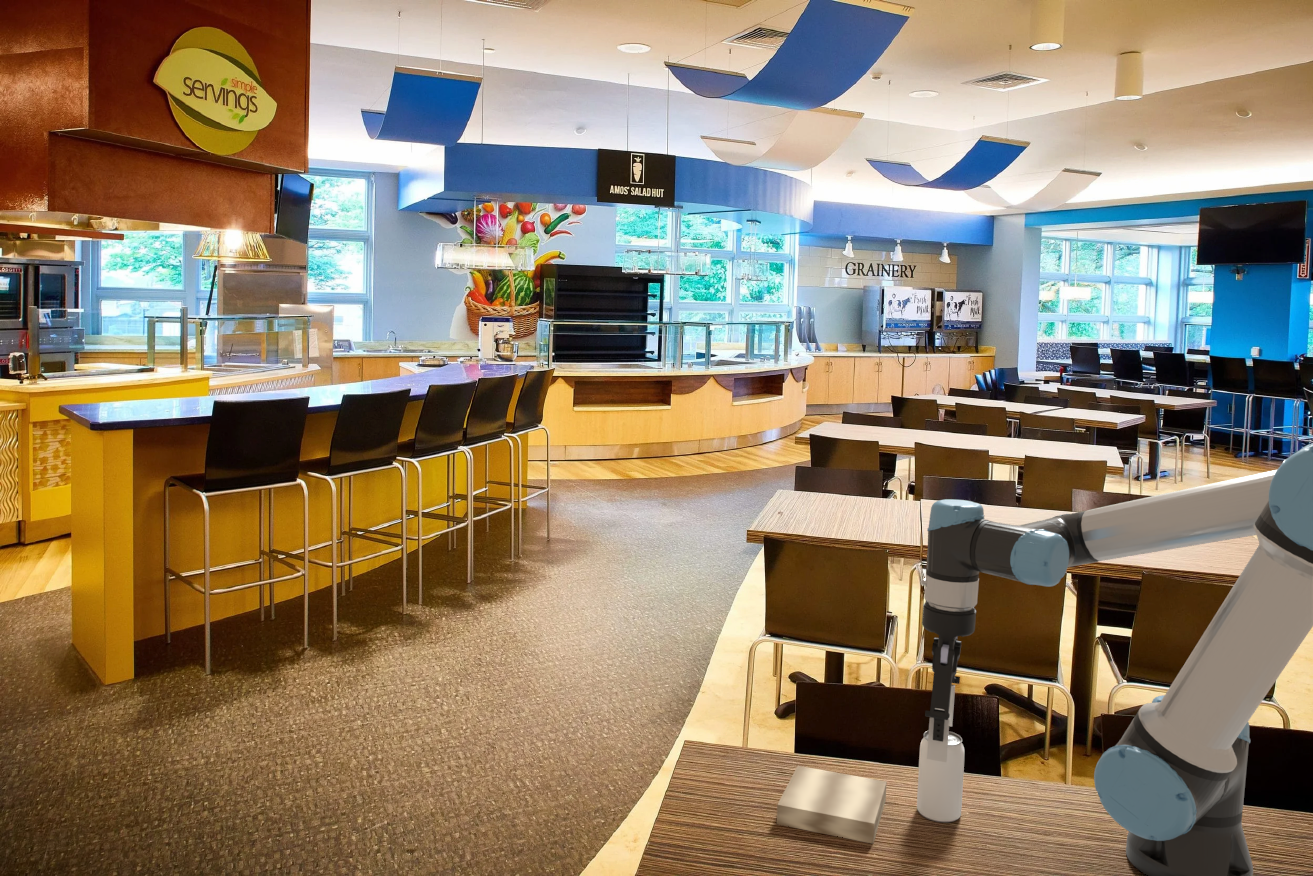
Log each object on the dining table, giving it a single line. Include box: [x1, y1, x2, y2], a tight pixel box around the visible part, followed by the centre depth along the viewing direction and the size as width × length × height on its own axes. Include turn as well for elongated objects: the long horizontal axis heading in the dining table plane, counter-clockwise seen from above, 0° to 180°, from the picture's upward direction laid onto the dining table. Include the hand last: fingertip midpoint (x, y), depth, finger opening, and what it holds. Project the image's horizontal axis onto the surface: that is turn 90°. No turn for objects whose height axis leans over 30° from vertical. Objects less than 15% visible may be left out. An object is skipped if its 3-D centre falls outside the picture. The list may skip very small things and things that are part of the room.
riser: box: [776, 765, 887, 844], centre depth 142 cm, size 14×14×3 cm
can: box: [916, 730, 965, 824], centre depth 142 cm, size 6×6×12 cm
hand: (940, 741), depth 142 cm, fingers open, 13 cm apart
